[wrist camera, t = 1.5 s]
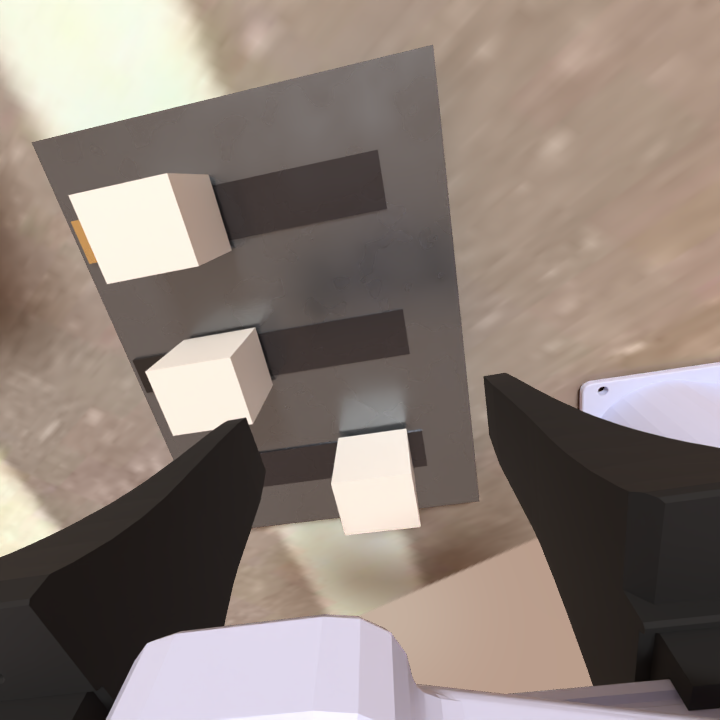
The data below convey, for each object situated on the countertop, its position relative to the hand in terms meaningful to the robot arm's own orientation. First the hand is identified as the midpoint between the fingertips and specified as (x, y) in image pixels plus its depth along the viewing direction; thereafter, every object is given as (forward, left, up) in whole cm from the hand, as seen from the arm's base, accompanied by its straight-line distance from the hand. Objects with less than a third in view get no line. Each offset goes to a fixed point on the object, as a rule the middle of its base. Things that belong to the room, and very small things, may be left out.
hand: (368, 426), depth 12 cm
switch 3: (+1, +6, -7) cm, 10 cm away
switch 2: (+7, 0, -7) cm, 10 cm away
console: (+4, 0, -10) cm, 10 cm away
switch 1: (+7, -7, -7) cm, 12 cm away
